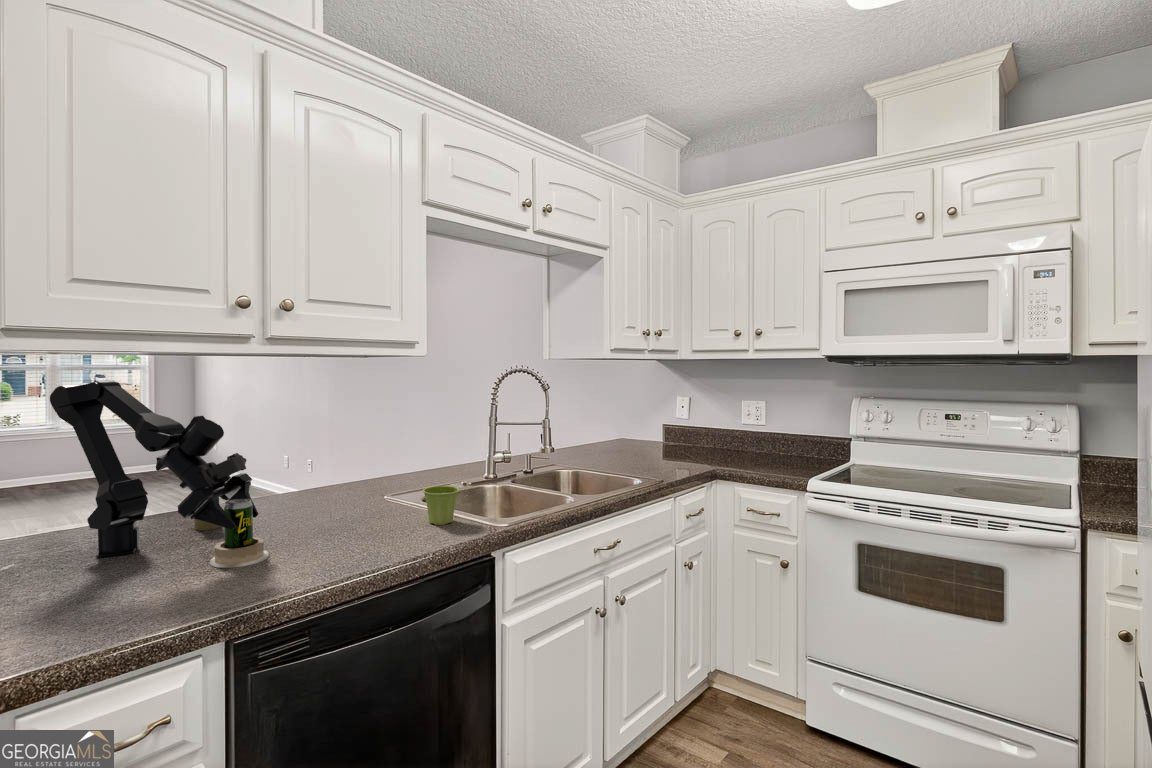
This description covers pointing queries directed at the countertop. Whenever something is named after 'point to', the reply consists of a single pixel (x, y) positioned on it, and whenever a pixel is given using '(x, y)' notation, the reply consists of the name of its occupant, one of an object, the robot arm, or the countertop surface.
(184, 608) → the countertop surface
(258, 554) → the can holder
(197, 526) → the cork
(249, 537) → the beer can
